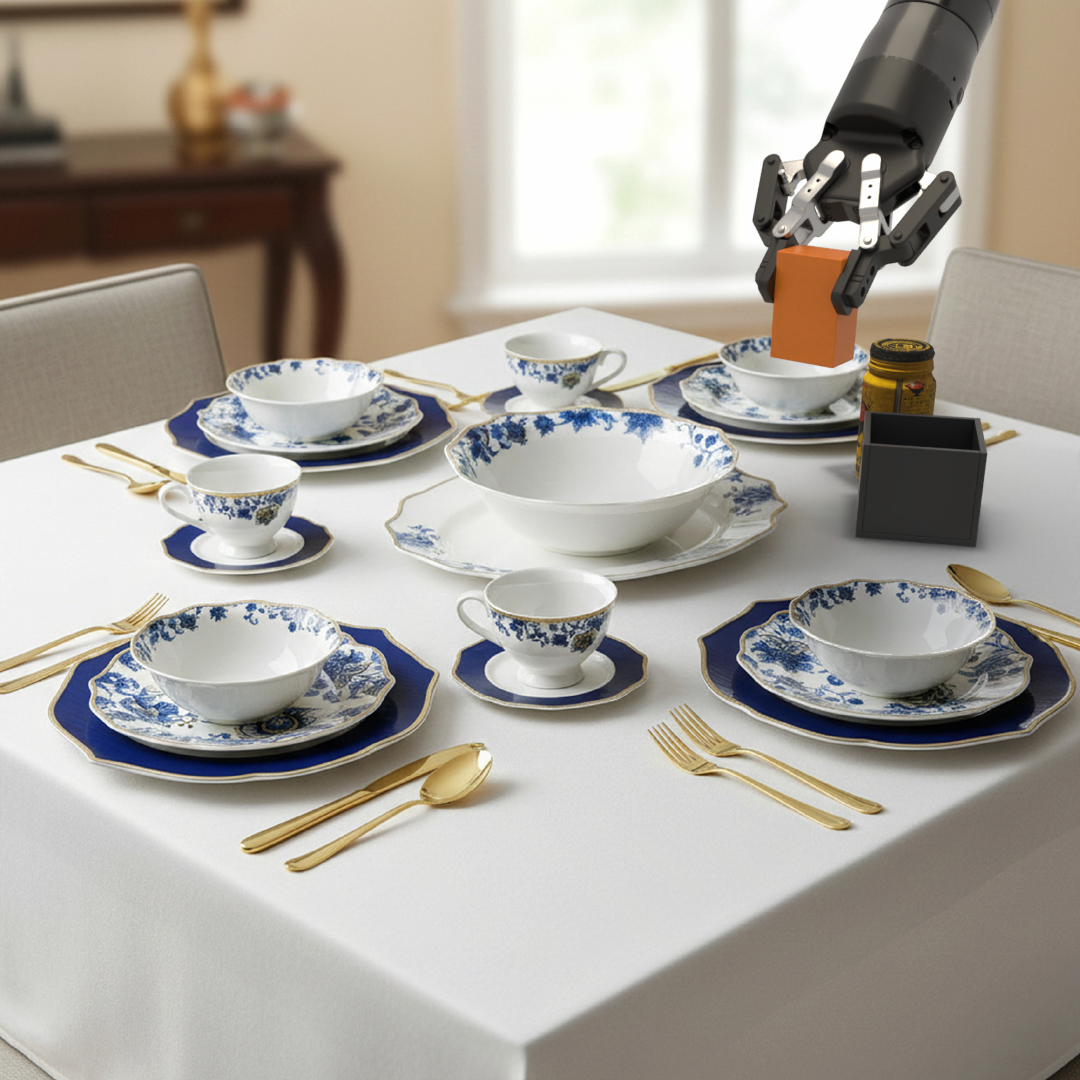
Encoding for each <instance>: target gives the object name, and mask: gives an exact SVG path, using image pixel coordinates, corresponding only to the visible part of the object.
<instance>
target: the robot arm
mask: <svg viewBox="0 0 1080 1080" xmlns="http://www.w3.org/2000/svg"><path fill="white" fill-rule="evenodd" d="M1001 2H1002V0H887V2H886V4H885V6H884V8H883V10H882V12H881V14H880V16H879V18H878V20H877V22H876V23H875V25H874V26H873V28H871V30H870V32H869V33H868V35H866V38H865V39H864V41H863V42H862V45H861V46H860V48H859V51H858V53H857V54H856V55H857V56H856V57H855V58H854V61H853V63H852V65H851V67H850V69H849V71H848V73H847V75H846V77H845V80H844V81H843V84H842V85H841V87H840V90H839V92H838V93H837V96H836V98H835V100H834V102H833V104H832V106H831V109H829V112H828V114H827V116H826V118H825V122H824V124H823V128H822V133H821V136H820V139H819V141H818V142H817V144H816V145H815V146H813V147H812V148H811V149H810V150H809V151H807V153H806V154H805V156H804V157H803V159H795V160H788V161H783V160H782V158H781V156H780V155H779V154H778V153H771V154H768V155H767V156H766V157H764V159H763V161H762V165H761V170H760V171H761V172H760V177H759V182H758V187H757V193H756V198H755V203H754V208H753V213H752V219H751V220H752V224H753V226H754V228H755V230H756V232H757V234H758V236H759V238H760V239H761V243H762V244H763V245H764V247H766V248H767V249H766V252H765V253H764V256H763V257H762V259H761V262H760V263H759V265H758V268H757V270H756V272H755V275H754V282H755V284H756V286H757V290H758V292H759V295H760V296H761V298H762V300H763V302H765V303H767V304H772V305H774V293H775V278H776V259H777V251H779V250H782V249H786V248H789V247H792V246H796V245H799V244H801V245H809V244H810V243H811V242H812V241H813V239H814V238H821V237H822V236H823V235H824V234H825V233H826V232H827V231H828V230H829V228H831V226H832V225H833V224H834V223H842V222H851V223H854V224H856V225H859V232H858V240H857V242H858V248H857V249H855V248H851V250H850V251H851V252H850V254H849V256H848V260H847V262H846V264H845V266H844V268H843V271H842V273H841V274H840V275H839V277H838V279H837V282H836V284H835V286H834V288H833V290H832V293H831V303H832V305H833V307H834V309H835V311H836V313H837V314H839V315H845V316H849V315H850V314H851V312H852V310H853V308H856V309H858V310H859V308H860V307H861V306H862V305H863V304H864V302H865V300H866V298H867V297H868V294H869V292H870V290H871V287H872V285H873V283H874V281H875V278H876V277H877V274H878V272H879V271H881V270H883V269H884V268H885V267H886V266H887V265H891V264H892V265H893V264H898V265H899V266H900V267H903V268H906V267H910V266H912V265H913V264H915V262H916V261H917V260H918V259H919V258H920V256H921V255H922V253H923V252H924V251H925V250H926V249H927V248H928V246H929V245H930V243H932V242H933V240H934V238H936V236H937V235H938V234H939V233H940V231H941V230H942V229H943V228H944V226H945V225H946V224H947V223H948V221H949V220H950V219H951V218H952V216H953V215H954V214H955V213H956V212H957V210H958V209H959V208H960V207H961V205H962V203H963V199H962V196H961V192H960V188H959V185H958V182H957V179H956V177H955V174H954V173H953V172H952V171H950V170H943V171H941V172H939V173H938V174H935V173H934V172H933V173H932V172H930V171H928V169H929V168H930V167H931V166H932V164H933V161H934V159H935V157H936V155H937V153H938V151H939V149H940V147H941V144H942V142H943V140H944V137H945V135H946V133H947V131H948V129H949V127H950V125H951V122H952V121H953V118H954V116H955V114H956V111H957V109H958V107H960V105H961V104H962V102H963V99H964V95H965V92H966V89H967V87H968V85H969V82H970V78H971V74H972V72H973V69H974V65H975V62H976V59H977V57H978V54H979V53H980V50H981V48H982V46H983V43H984V41H985V39H986V37H987V35H988V33H989V30H990V28H991V26H992V24H993V22H994V20H995V18H996V16H997V14H998V11H999V8H1000V5H1001ZM803 180H806V183H805V184H804V185H802V187H801V188H800V190H799V191H797V193H795V190H796V189H797V186H798V185H799V183H800V182H801V181H803ZM916 196H917V199H916V200H915V201H914V203H913V204H912V205H911V206H910V208H909V209H908V210H907V211H906V212H905V214H904V215H903V216H902V218H901V219H900V220H899V222H897V223H896V225H895V226H893V218H894V217H893V216H894V212H895V211H896V210H898V209H899V208H900V207H902V206H903V205H905V204H906V203H908V202H909V201H910V200H912V199H913V198H915V197H916ZM791 197H793V198H792V199H791V205H790V208H789V209H788V210H787V207H788V199H789V198H791ZM892 228H893V229H892Z"/></svg>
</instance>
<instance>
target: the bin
mask: <svg viewBox="0 0 1080 1080" xmlns="http://www.w3.org/2000/svg"><path fill="white" fill-rule="evenodd" d="M987 459H988V449H987V444H986V439H985V434H984V430H983V425H982V420H981V418H980V417H967V416H955V415H954V416H952V415H937V414H933V415H923V414H908V413H892V412H877V411H872V412H871V411H865V418H864V429H863V440H862V451H861V462H860V473H859V480H858V484H857V496H856V512H855V513H856V514H855V515H856V516H855V529H854V530H855V533H854V537H855V538H859V539H870V540H882V541H894V542H908V543H918V544H919V543H921V544H931V545H942V546H943V545H945V546H954V547H955V546H956V547H957V546H958V547H970V548H976V547H977V541H978V533H979V525H980V517H981V509H982V501H983V493H984V483H985V477H986V476H985V475H986V468H987Z"/></svg>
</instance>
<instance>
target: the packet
mask: <svg viewBox="0 0 1080 1080" xmlns="http://www.w3.org/2000/svg"><path fill="white" fill-rule="evenodd" d="M850 252H851V250H845V249H838V248H830V247H824V246H823V247H822V246H815V245H809V244H808V245H801V244H799V245H796V246H792V247H789V248H786V249H782V250H779V251H777V259H776V278H775V293H774V304H772V305H773V306H772V322H771V337H770V352H769V357H770V358H773V359H779V360H785V361H790V362H795V363H801V364H806V365H812V366H817V367H821V368H828V369H835V368H837V367H839V366H841V365H844V364H846V363H849V362H850V361H853V360H854V358H855V347H856V337H857V336H856V334H857V325H858V324H857V323H858V312H859V308H858V309H856V308H853V310H852V312H851V314H850V315H849V316H845V315H839V314H837V313H836V311H835V309H834V307H833V305H832V303H831V293H832V290H833V288H834V286H835V284H836V282H837V279H838V277H839V275H840V274H841V273H842V271H843V268H844V266H845V264H846V262H847V260H848V256H849V254H850Z"/></svg>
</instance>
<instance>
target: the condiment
mask: <svg viewBox="0 0 1080 1080" xmlns="http://www.w3.org/2000/svg"><path fill="white" fill-rule="evenodd" d="M935 356H936V351H935V349H934V346H933V345H932V344H930V343H929V342H926V341H923V340H918V339H912V338H902V337H901V338H900V337H899V338H898V337H895V338H893V337H892V338H882V339H878V340H876V341H874V342H872V343H871V345H870V349H869V361H868V363H867V367H868V370H867V371H866V372H865V374H864V375H863V377H862V384H861V396H860V397H861V398H860V411H859V421H858V422H859V423H858V430H857V439H856V441H857V444H856V457H855V471H856V472H855V478H856V480H857V481H859V473H860V462H861V451H862V440H863V429H864V418H865V411H871V412H872V411H877V412H892V413H908V414H923V415H934V413H935V404H936V403H935V402H936V393H937V379H936V378H935V376H934V375H933V371H934V370H935V361H934V358H935Z"/></svg>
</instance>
